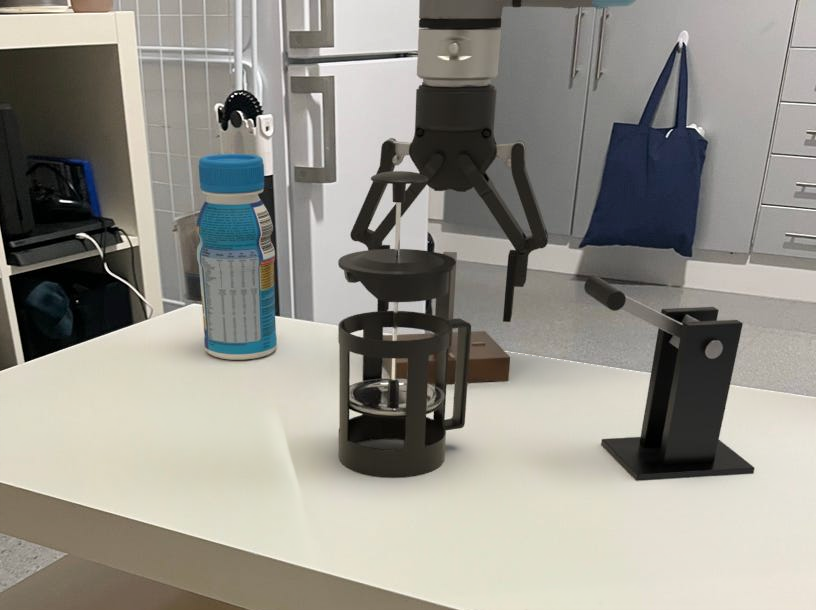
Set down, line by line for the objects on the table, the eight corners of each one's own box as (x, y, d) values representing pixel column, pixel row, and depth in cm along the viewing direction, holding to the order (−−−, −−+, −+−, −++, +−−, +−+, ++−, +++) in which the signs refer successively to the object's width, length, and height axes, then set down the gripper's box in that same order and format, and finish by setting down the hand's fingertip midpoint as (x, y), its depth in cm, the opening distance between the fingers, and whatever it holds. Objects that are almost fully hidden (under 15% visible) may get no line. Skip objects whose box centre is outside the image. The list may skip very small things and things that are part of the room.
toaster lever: (600, 312, 75) (617, 281, 74) (577, 296, 79) (593, 266, 78) (716, 369, 79) (734, 340, 78) (688, 350, 83) (705, 323, 82)
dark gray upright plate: (439, 338, 110) (443, 249, 105) (452, 339, 110) (457, 249, 105) (433, 351, 106) (437, 259, 101) (446, 352, 106) (451, 259, 101)
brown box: (483, 353, 114) (485, 329, 113) (508, 380, 106) (510, 355, 104) (378, 357, 113) (379, 333, 111) (395, 386, 104) (396, 360, 103)
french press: (354, 498, 81) (356, 185, 69) (312, 457, 88) (308, 168, 76) (484, 476, 84) (508, 176, 72) (434, 438, 92) (448, 160, 80)
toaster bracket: (634, 492, 82) (661, 332, 75) (599, 455, 88) (620, 305, 82) (751, 484, 83) (788, 326, 76) (707, 448, 90) (737, 300, 83)
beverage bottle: (221, 366, 110) (208, 165, 100) (192, 346, 117) (177, 155, 106) (290, 354, 114) (285, 159, 103) (258, 336, 120) (250, 150, 109)
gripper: (320, 83, 94) (322, 318, 105) (590, 86, 89) (562, 331, 101) (336, 78, 100) (337, 300, 111) (590, 81, 96) (564, 312, 107)
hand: (444, 315), depth 106 cm, fingers open, 12 cm apart
